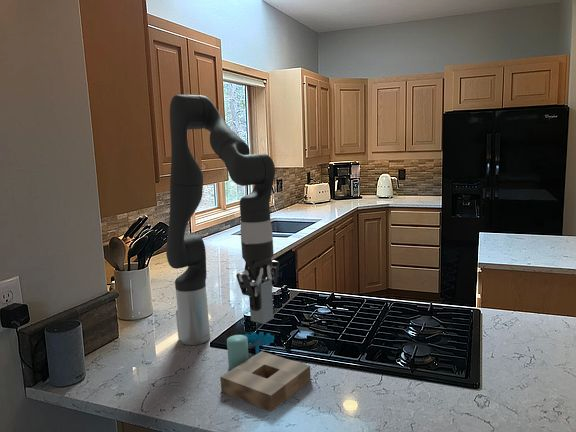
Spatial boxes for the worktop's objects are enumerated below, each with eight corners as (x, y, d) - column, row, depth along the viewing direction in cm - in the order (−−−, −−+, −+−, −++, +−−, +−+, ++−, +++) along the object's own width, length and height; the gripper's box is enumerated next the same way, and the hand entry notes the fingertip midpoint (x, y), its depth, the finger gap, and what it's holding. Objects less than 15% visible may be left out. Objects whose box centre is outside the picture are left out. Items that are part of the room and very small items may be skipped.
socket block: (221, 391, 116) (220, 376, 116) (262, 364, 129) (261, 351, 128) (271, 411, 107) (270, 395, 106) (310, 380, 119) (310, 365, 119)
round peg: (224, 368, 128) (222, 340, 127) (238, 359, 133) (236, 333, 131) (239, 373, 125) (237, 345, 123) (253, 364, 129) (251, 337, 128)
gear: (277, 339, 140) (269, 327, 132) (278, 359, 137) (270, 348, 129) (242, 344, 142) (232, 332, 134) (242, 364, 138) (232, 353, 130)
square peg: (250, 320, 114) (248, 281, 113) (261, 315, 118) (258, 277, 116) (263, 323, 112) (260, 283, 110) (273, 318, 115) (271, 279, 113)
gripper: (263, 231, 119) (267, 295, 122) (224, 243, 108) (230, 314, 111) (287, 234, 115) (290, 300, 118) (249, 246, 103) (254, 320, 106)
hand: (261, 306), depth 114 cm, fingers closed on square peg, 4 cm apart
